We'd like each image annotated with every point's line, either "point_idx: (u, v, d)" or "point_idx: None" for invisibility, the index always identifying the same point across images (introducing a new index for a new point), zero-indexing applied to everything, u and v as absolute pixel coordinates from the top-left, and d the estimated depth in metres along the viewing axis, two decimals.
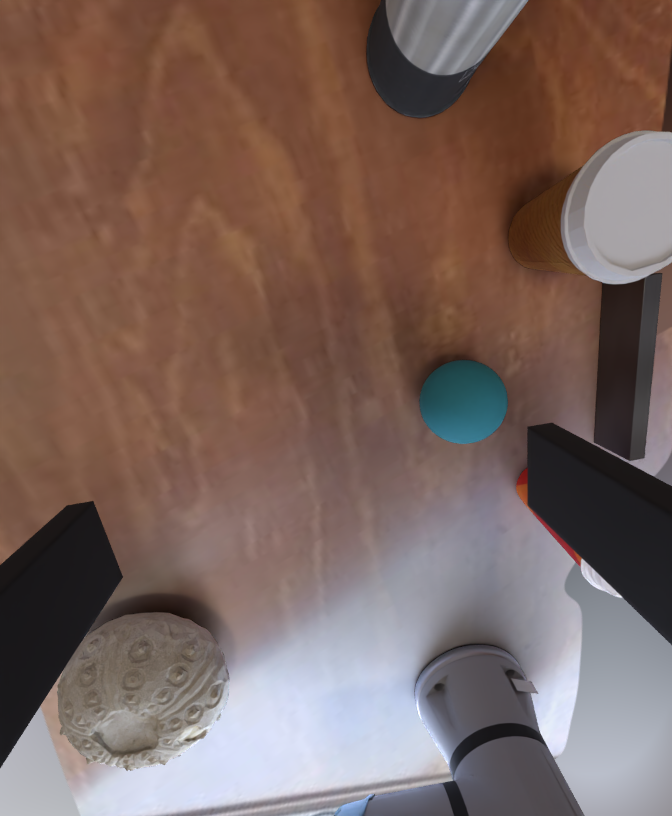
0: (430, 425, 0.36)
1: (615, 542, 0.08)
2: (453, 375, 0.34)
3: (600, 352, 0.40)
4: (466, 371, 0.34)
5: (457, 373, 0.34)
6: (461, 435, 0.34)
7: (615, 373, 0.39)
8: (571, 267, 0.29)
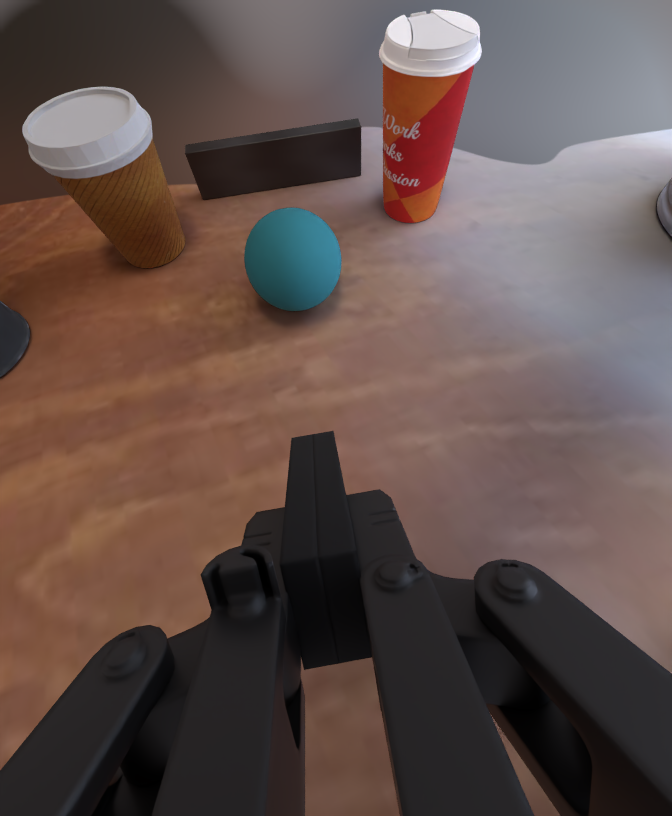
0: (313, 279, 0.29)
1: None
2: (250, 261, 0.29)
3: (269, 187, 0.43)
4: (246, 250, 0.30)
5: (248, 258, 0.30)
6: (316, 237, 0.28)
7: (281, 165, 0.41)
8: (141, 173, 0.31)
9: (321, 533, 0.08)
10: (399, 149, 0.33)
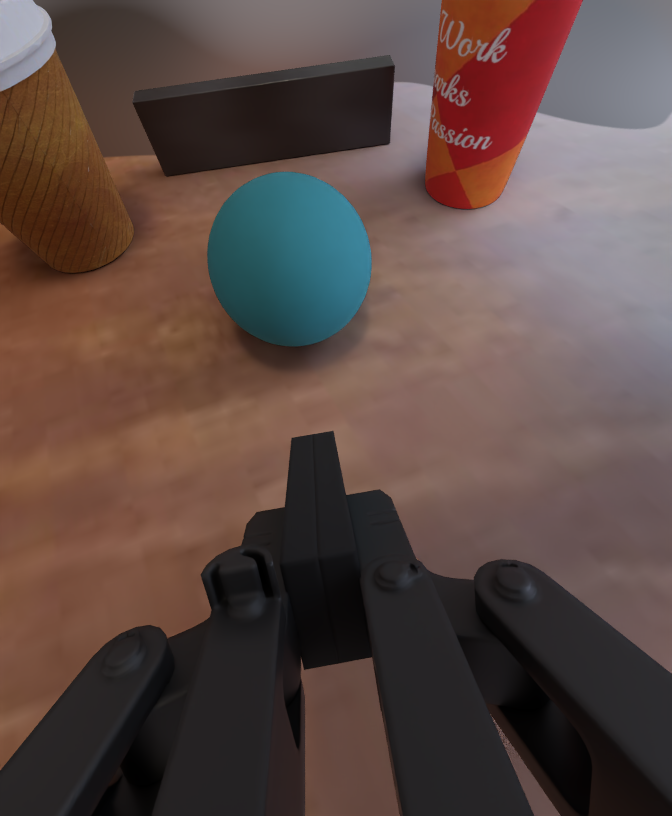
0: (326, 297, 0.16)
1: None
2: (214, 264, 0.17)
3: (259, 159, 0.30)
4: (209, 245, 0.17)
5: (211, 259, 0.17)
6: (332, 222, 0.16)
7: (277, 125, 0.28)
8: (32, 114, 0.18)
9: (321, 533, 0.08)
10: (466, 85, 0.20)
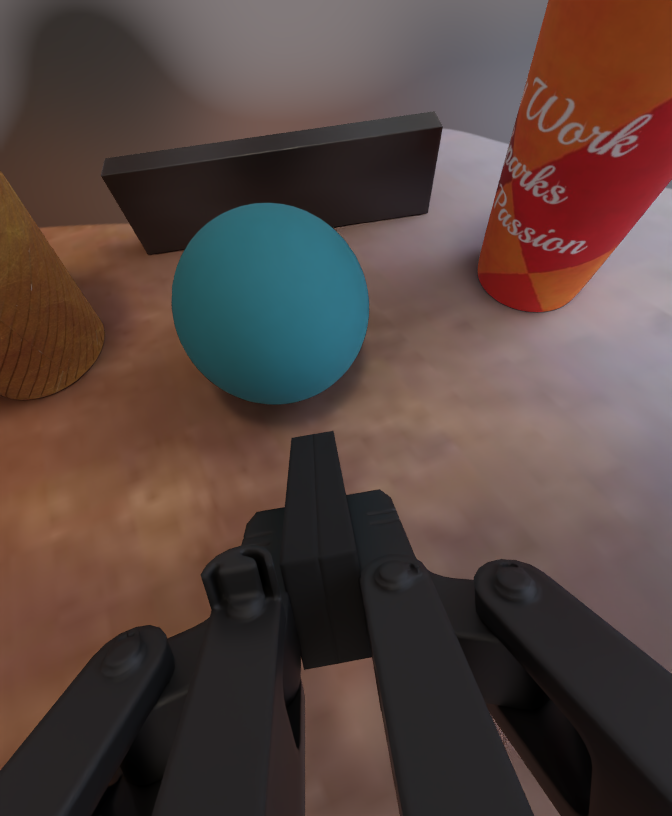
0: (268, 204, 0.14)
1: None
2: None
3: None
4: None
5: None
6: None
7: (288, 196, 0.22)
8: None
9: (321, 533, 0.08)
10: (564, 180, 0.14)
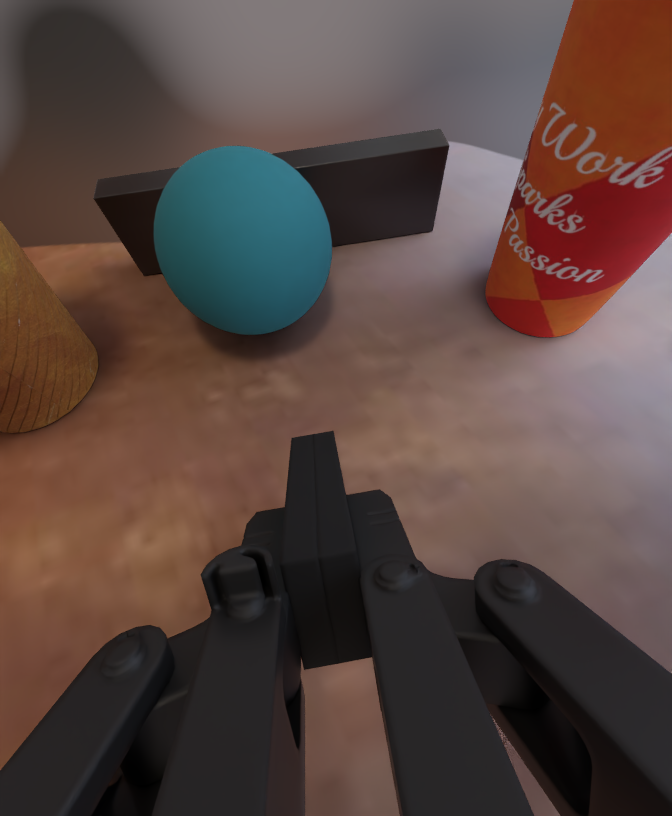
0: None
1: None
2: None
3: None
4: None
5: None
6: None
7: None
8: None
9: (321, 533, 0.08)
10: (582, 209, 0.13)
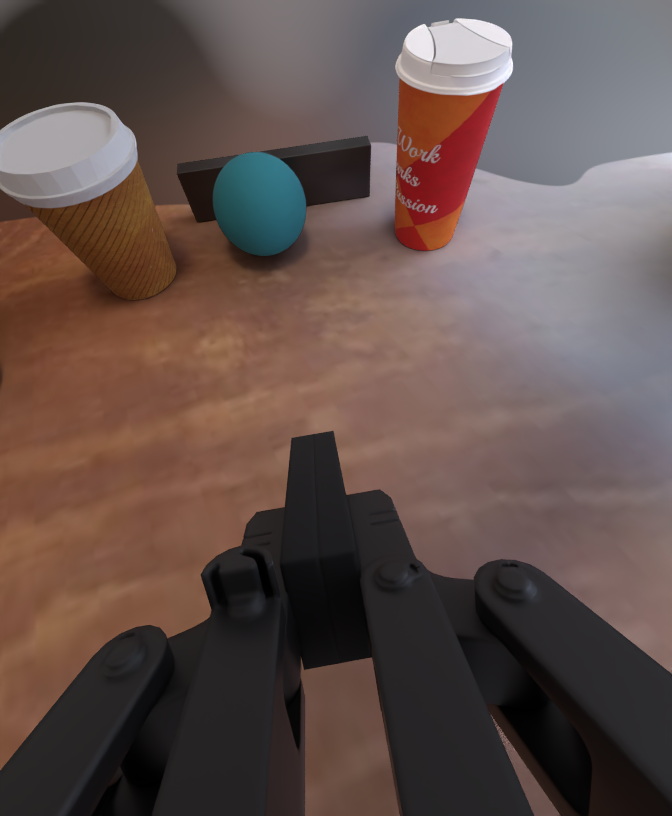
0: None
1: None
2: None
3: None
4: None
5: None
6: None
7: None
8: (124, 201, 0.27)
9: (321, 533, 0.08)
10: (416, 174, 0.29)
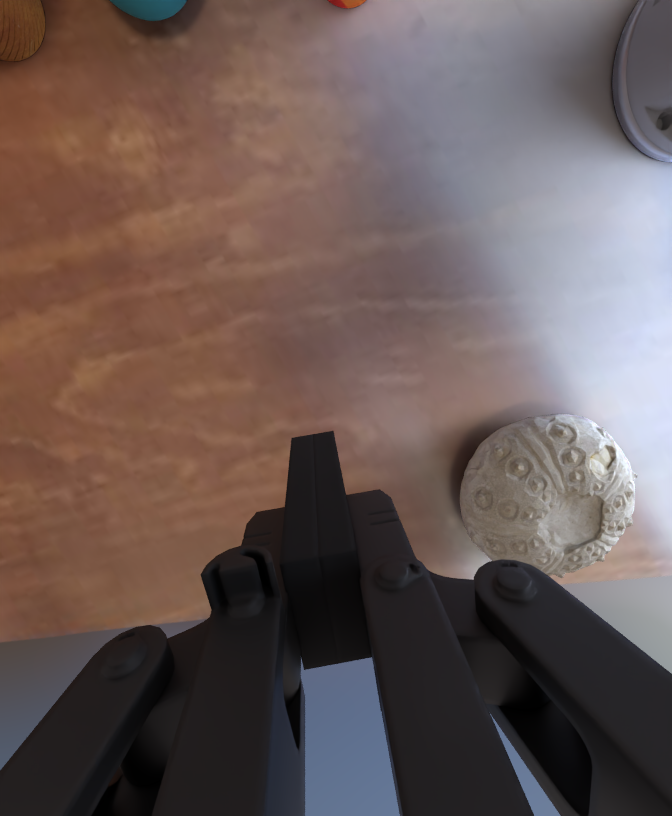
0: None
1: None
2: None
3: None
4: None
5: None
6: None
7: None
8: None
9: (321, 533, 0.08)
10: None
